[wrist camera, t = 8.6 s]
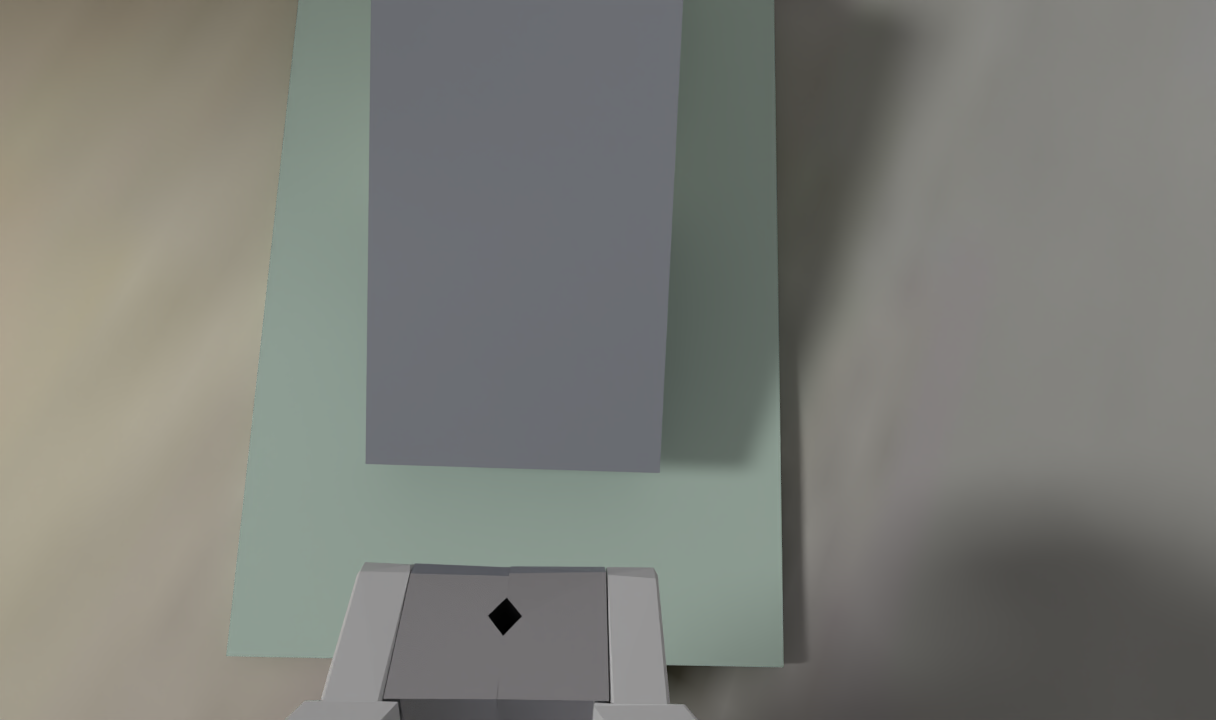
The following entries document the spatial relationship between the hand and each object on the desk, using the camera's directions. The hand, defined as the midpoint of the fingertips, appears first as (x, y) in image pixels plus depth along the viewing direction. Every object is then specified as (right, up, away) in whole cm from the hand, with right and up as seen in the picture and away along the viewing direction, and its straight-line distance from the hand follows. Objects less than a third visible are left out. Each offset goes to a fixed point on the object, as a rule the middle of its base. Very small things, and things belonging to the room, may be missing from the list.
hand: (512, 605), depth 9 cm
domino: (-1, +1, +7) cm, 7 cm away
